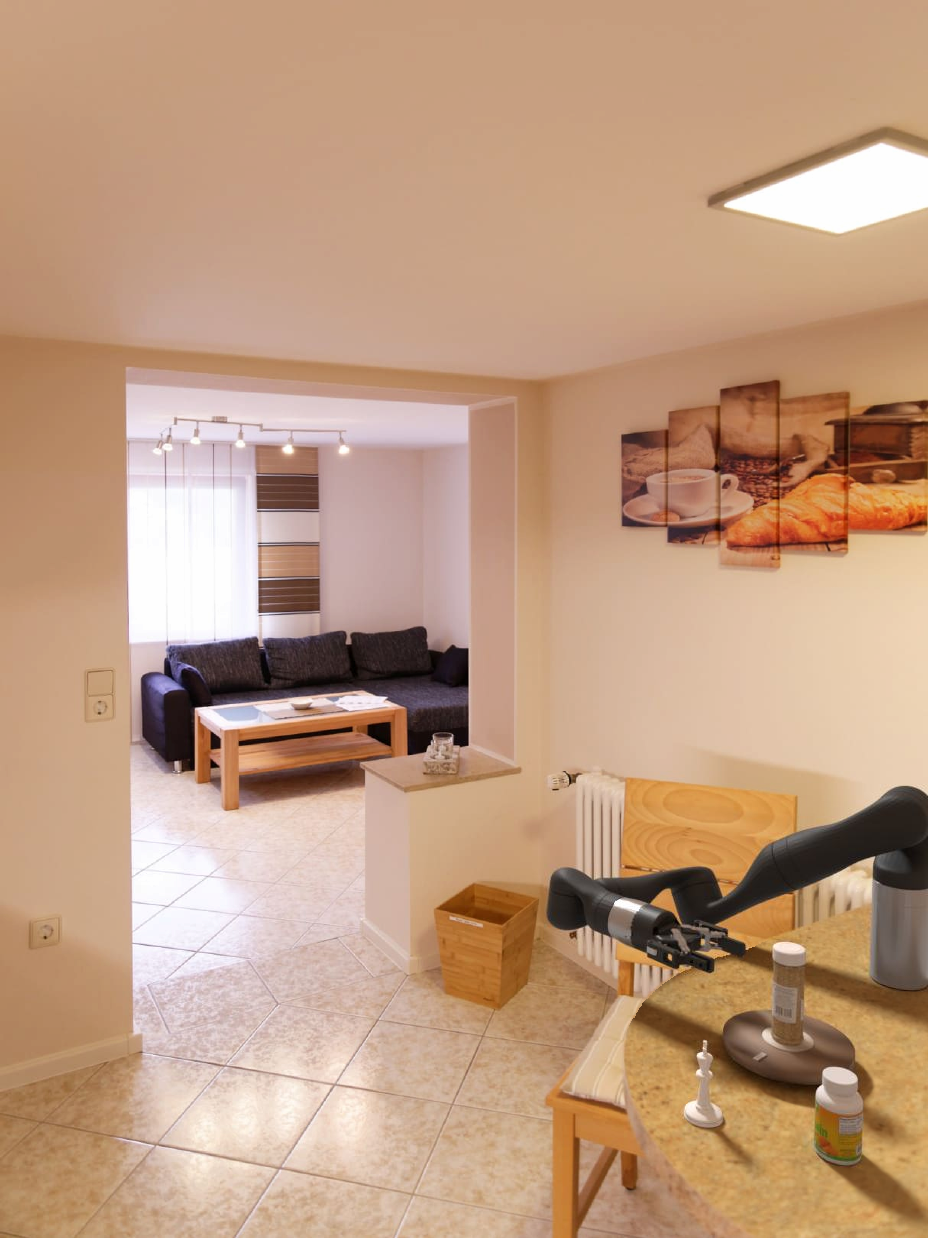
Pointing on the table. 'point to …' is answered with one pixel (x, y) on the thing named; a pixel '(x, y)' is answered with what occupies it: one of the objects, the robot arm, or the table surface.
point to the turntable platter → (786, 1048)
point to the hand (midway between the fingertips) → (729, 958)
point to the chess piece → (703, 1096)
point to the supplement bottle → (838, 1117)
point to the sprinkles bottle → (788, 993)
